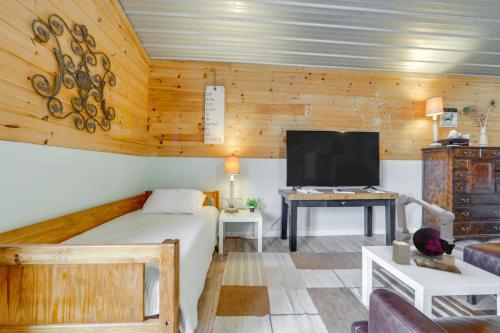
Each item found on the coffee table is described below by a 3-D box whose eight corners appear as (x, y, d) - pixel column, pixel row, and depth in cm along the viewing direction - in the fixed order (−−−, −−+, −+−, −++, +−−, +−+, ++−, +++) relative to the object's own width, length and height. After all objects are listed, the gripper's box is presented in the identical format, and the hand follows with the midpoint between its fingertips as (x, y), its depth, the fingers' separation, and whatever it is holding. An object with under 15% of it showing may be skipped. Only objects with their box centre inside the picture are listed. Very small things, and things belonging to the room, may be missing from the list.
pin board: (417, 266, 140) (417, 259, 140) (413, 260, 150) (413, 253, 150) (461, 274, 131) (461, 266, 131) (453, 267, 140) (453, 259, 140)
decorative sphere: (408, 249, 172) (408, 223, 172) (439, 252, 165) (439, 226, 166) (418, 258, 153) (419, 229, 153) (454, 263, 146) (455, 233, 147)
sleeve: (444, 266, 136) (445, 256, 136) (442, 263, 141) (442, 254, 141) (455, 268, 134) (456, 258, 134) (452, 265, 139) (452, 255, 139)
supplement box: (403, 260, 149) (403, 241, 149) (410, 264, 142) (410, 245, 142) (391, 259, 150) (392, 240, 150) (398, 264, 142) (398, 244, 143)
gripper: (459, 234, 130) (459, 257, 130) (450, 229, 143) (449, 250, 143) (444, 232, 133) (444, 255, 133) (436, 227, 146) (436, 248, 146)
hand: (446, 252), depth 138 cm, fingers open, 7 cm apart
